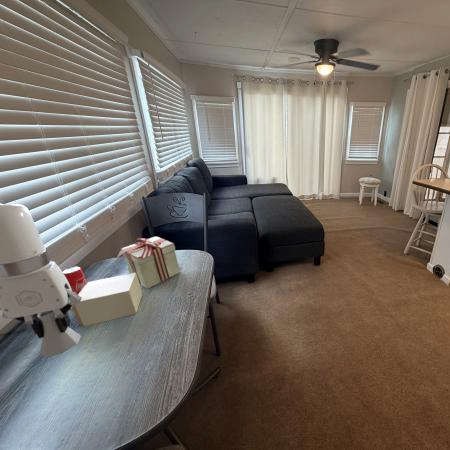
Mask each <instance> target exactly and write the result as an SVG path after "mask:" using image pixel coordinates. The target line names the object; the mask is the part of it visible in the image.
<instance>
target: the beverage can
mask: <svg viewBox="0 0 450 450" xmlns="http://www.w3.org/2000/svg"><path fill="white" fill-rule="evenodd" d="M62 272H63V274H64V275H65V277H66V279H67V281H68V282H69V285H70V287H71V289H72V291H73V292H74V293H76V294H77V295H78V294H79V293H80V291H81V290H82V289H83V287H84V286H86V285H87V283H88V281H87V279H86V278H85V277H86V276H85V275H84V272H83V270H82V268H81V267H80V266H72V267H69V268H66V269H64V270H63V271H62Z"/></svg>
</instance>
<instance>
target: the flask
mask: <svg viewBox="0 0 450 450" xmlns="http://www.w3.org/2000/svg"><path fill="white" fill-rule="evenodd" d="M37 317H38V318H39V319H41V322H42V327H43V335H44V337H42V338H41V344H40V352H39V353H40V355H42V357H44V359H47V358H51V357H54V356H58V355H61V354H64V353H66V352H67V351H69V350H71V348H74V347H75V346H77V345H78V343H79V341H80V340H81V337H82V335H81V334H79V333H77V332H76V331H75V330H73V328H71V327H68V328H67V330H66V331H65V332H63V333H61V332H60V330H59V328H58V326H57V324H56V322H55V320H56V318H57V316H56V315H55V313H54V312H53V310H52V311H47V312H43V313H38V315H37Z"/></svg>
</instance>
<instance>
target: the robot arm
mask: <svg viewBox="0 0 450 450" xmlns="http://www.w3.org/2000/svg"><path fill="white" fill-rule="evenodd" d="M43 242H44V241H43V240H42V237H41V235H40V233H39V231H38V228H37V226H36V223H35V221H34V219H33V216H32V214H31V212H30V210H29V208H28V207H26V206H25V205H23V204H19V203H6V204H3V203H0V309H1V310H2V314H1V318H3V319H9V320H11V319H12V320H14V319H15V320H17V321H20V322H23V323H25V325H27V326H30V327H31V329H32V331H33V333H34V334H36V335H37V338H38V339H42V337H44V335H43V327H42V322H41V319H39V318H38V317H37V315H38V313H43V312H47V311H52V310H53V312H54V313H55V315H56V316H57V318H56V320H55V322H56V324H57V326H58V328H59V330H60V332H61V333H63V332H65V331H66V330H67V328H68V327H69V326H71V324H72V321H71V318H70V315H69V314H68V312H69V311H71V310H70V308H72V307H73V306H75V305H76V304H78V303H79V302H80V301H81V299H82V298H81V297H80V296H79V295H77V294H76V293H74V292H73V291H72V289H71V287H70V285H69V282H68V281H67V279H66V277H65V275H64V274H63V271H62V269H61V267H59V265H58V264H57V263H56V262H55V261H53V260H51V259H50V257H49V254H48V252H47V249H46V247H45V244H44V243H43ZM69 300H70V301H69ZM68 301H69V302H68ZM69 328H70V327H69Z"/></svg>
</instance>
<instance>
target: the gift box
mask: <svg viewBox="0 0 450 450" xmlns="http://www.w3.org/2000/svg"><path fill="white" fill-rule="evenodd" d="M135 241H138V242H136V243H133V244H130V245H127V246H125V247H122V248H120V251H119V253H118V255H117V257H116V258H117V259H119V258H121V257H122V256H123V257H124V260H125V263H126V264H125V265H126V266H127V270H128V272H129V273H128V274H131V273H136V274H137V277H138V280H139V284H140V286H142V287H143V288H145V289H147V290H148V289H151V288H152V287H155V286H156V285H158V284H160V283H162V282H164V281H166V280H168V279H170V278H172V277H175V276H176V275H178V274H180V273H181V270H180V266H179V263H178V258H177V255H176V246H175V243H174V242H171V241H169V240H166V239H165V238H161V237H159V236H153V237H150V238H135Z"/></svg>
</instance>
